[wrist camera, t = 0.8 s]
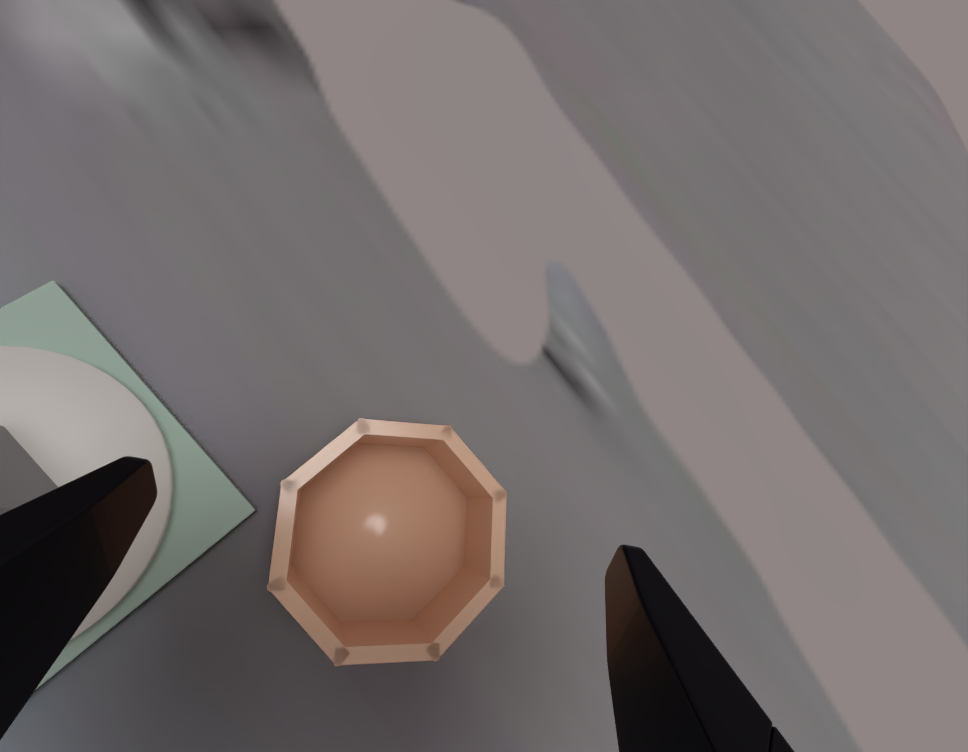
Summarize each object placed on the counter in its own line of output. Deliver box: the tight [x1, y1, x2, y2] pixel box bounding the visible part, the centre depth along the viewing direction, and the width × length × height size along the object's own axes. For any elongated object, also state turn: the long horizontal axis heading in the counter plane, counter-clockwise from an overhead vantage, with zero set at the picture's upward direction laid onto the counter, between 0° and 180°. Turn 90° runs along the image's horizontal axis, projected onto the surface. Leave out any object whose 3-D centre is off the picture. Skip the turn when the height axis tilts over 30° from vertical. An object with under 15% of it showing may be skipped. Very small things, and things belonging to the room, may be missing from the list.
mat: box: [0, 280, 256, 691], centre depth 20 cm, size 13×13×1 cm
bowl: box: [266, 417, 507, 667], centre depth 22 cm, size 9×9×4 cm
